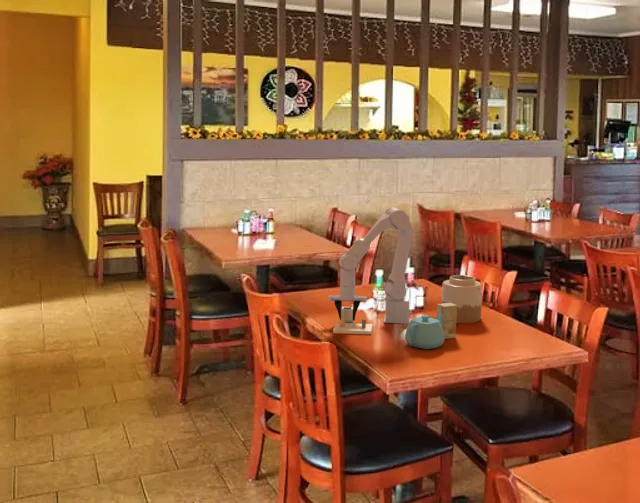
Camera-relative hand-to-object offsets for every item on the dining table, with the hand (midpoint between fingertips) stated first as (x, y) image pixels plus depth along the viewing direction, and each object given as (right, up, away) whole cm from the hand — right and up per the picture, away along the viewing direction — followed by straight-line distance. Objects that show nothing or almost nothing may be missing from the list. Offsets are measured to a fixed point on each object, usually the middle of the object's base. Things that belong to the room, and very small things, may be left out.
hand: (347, 319), depth 287 cm
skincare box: (+35, -5, -18) cm, 40 cm away
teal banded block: (0, -1, 0) cm, 1 cm away
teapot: (+27, -6, -27) cm, 38 cm away
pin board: (+2, -3, -9) cm, 10 cm away
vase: (+45, 0, +8) cm, 46 cm away
